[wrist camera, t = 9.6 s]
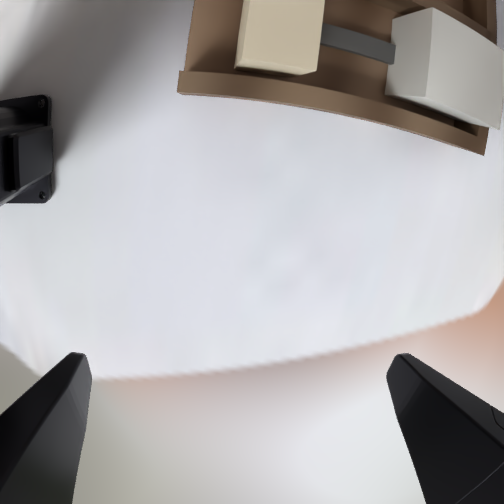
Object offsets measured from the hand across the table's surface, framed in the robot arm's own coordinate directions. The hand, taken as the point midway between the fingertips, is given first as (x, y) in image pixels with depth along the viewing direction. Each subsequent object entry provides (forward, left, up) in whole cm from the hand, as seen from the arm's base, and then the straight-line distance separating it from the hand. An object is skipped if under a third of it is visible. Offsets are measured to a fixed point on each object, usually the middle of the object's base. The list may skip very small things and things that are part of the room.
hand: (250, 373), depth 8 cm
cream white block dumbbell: (+7, +11, -11) cm, 17 cm away
